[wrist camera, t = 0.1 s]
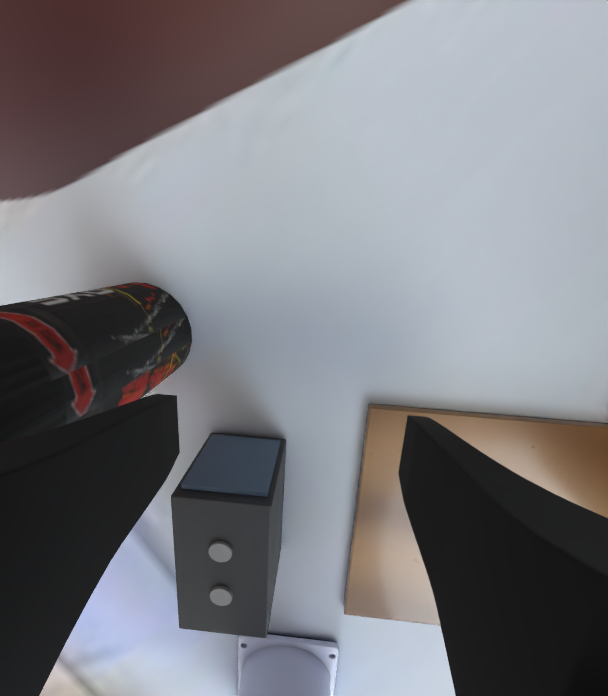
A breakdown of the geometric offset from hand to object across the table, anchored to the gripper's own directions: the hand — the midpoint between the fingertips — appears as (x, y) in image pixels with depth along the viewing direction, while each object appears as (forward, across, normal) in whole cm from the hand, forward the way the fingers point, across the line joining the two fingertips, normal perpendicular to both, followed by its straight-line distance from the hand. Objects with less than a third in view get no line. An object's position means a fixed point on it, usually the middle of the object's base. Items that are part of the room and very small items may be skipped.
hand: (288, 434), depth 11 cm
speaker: (+10, +4, +11) cm, 15 cm away
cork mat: (+10, -13, +12) cm, 20 cm away
